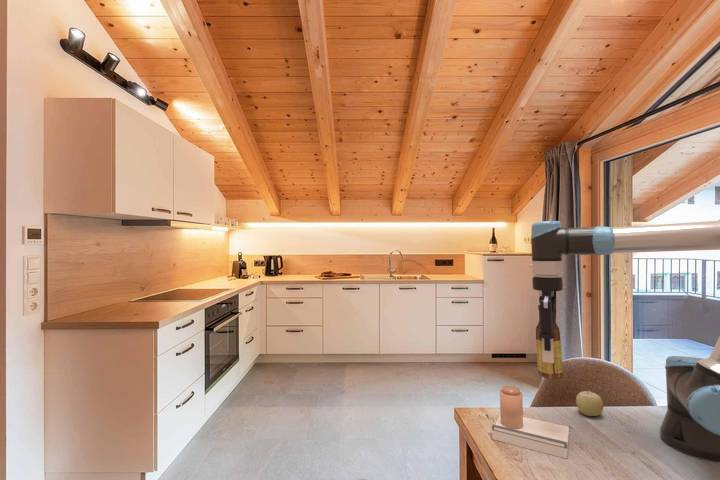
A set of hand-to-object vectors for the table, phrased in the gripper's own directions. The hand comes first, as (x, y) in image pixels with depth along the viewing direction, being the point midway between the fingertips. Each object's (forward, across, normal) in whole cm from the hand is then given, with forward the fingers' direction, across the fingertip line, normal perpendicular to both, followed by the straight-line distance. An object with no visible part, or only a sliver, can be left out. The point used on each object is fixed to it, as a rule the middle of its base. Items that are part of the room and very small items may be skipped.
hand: (549, 358), depth 99 cm
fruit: (+22, -23, +9) cm, 33 cm away
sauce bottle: (+5, 0, 0) cm, 5 cm away
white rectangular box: (+22, +2, -5) cm, 23 cm away
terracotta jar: (+20, +2, -10) cm, 22 cm away
